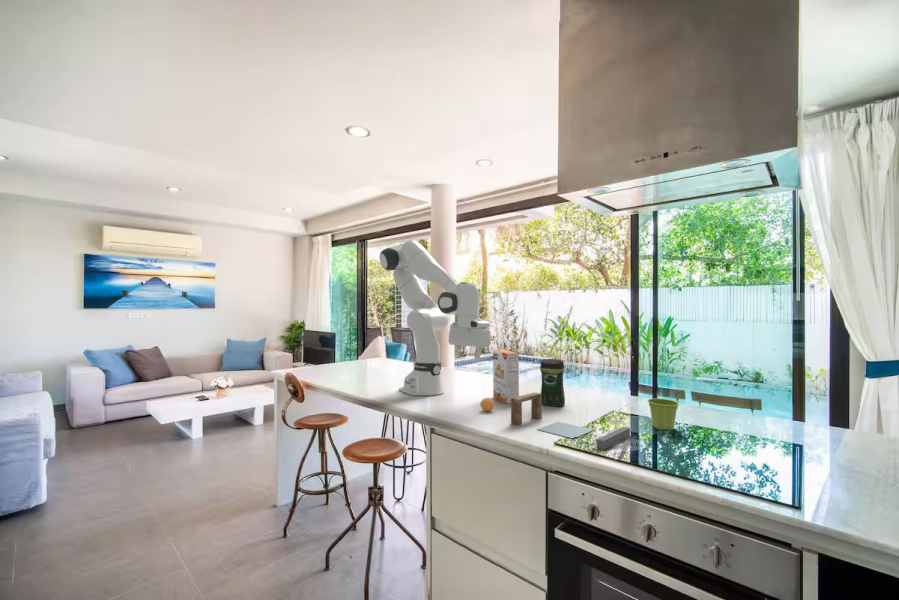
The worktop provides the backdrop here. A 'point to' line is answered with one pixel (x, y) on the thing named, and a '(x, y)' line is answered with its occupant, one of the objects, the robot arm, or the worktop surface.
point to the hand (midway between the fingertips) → (468, 357)
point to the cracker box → (505, 375)
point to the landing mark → (565, 430)
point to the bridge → (517, 407)
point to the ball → (487, 404)
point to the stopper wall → (613, 438)
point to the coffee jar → (552, 382)
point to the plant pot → (663, 413)
